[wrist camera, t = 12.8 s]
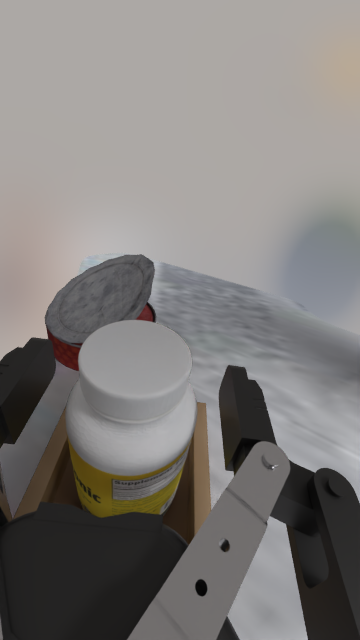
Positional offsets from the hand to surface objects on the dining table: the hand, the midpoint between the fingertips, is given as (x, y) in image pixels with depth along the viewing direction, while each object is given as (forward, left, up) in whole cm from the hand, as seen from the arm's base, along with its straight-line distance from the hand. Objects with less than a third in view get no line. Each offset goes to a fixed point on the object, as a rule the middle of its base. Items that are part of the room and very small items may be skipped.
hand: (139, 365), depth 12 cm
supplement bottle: (0, +2, -7) cm, 8 cm away
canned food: (+5, -12, -9) cm, 16 cm away
